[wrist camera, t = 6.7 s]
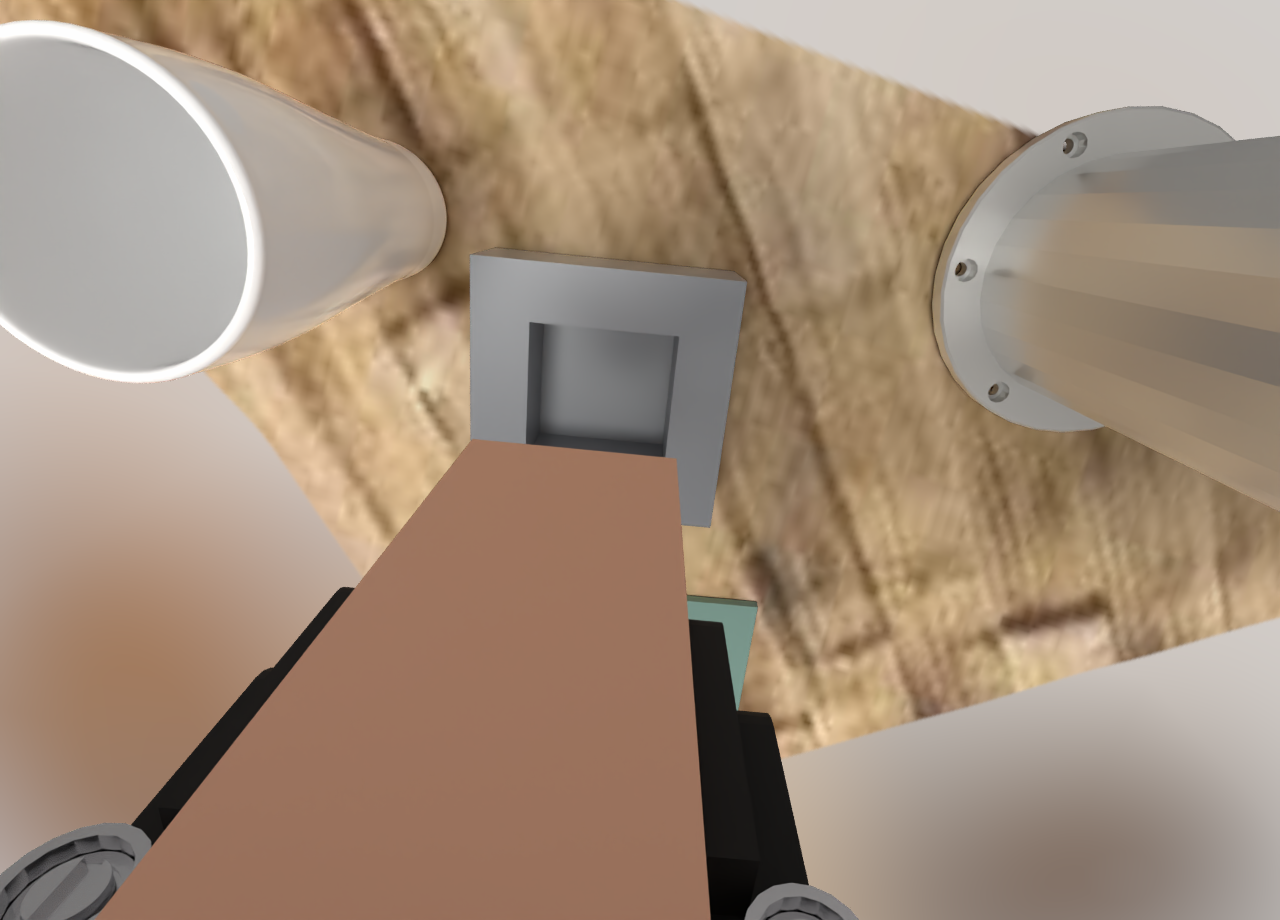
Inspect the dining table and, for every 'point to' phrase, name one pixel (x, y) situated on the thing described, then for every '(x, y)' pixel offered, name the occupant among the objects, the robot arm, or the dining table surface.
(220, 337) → the drinking glass
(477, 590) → the peg
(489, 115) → the dining table surface
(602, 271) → the pocket block
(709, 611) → the mat
